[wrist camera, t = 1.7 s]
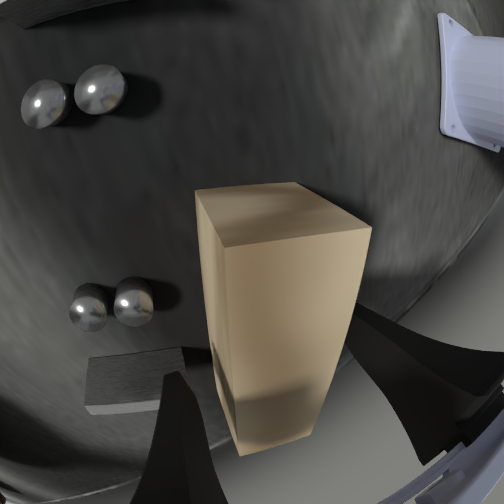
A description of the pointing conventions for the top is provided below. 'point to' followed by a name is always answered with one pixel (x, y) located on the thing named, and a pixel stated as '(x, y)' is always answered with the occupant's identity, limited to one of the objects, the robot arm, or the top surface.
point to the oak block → (276, 303)
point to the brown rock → (2, 499)
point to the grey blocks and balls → (90, 295)
